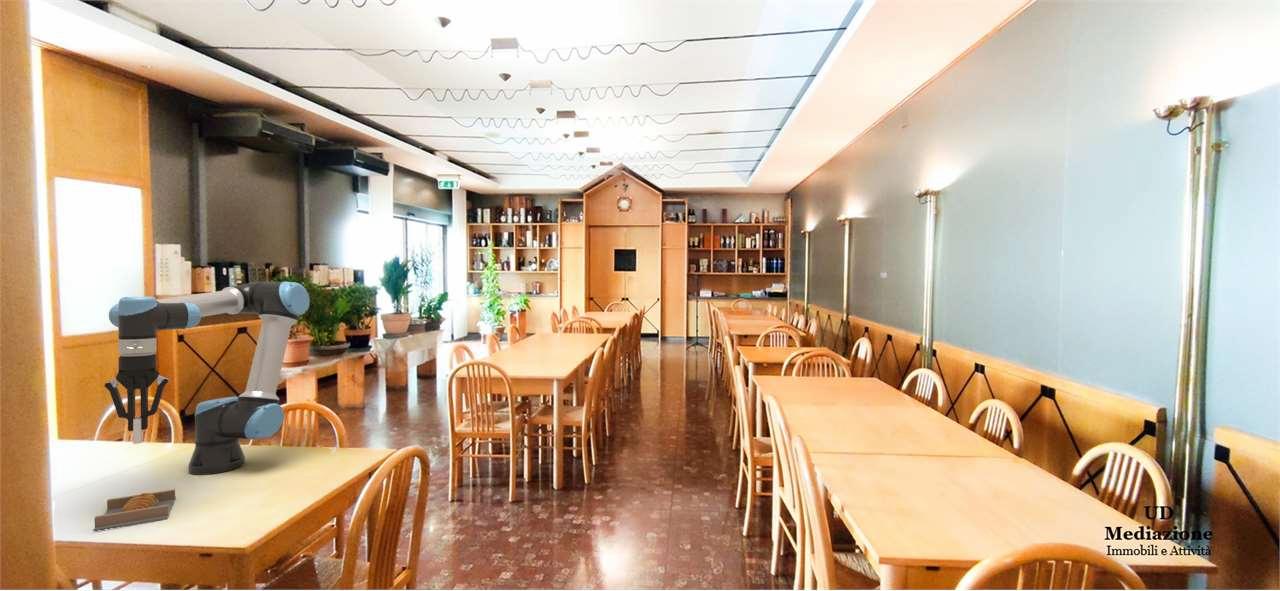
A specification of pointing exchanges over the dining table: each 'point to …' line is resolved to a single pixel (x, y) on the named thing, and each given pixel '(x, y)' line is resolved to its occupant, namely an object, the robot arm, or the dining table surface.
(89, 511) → the dining table surface
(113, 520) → the pastry holder
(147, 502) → the pastry
